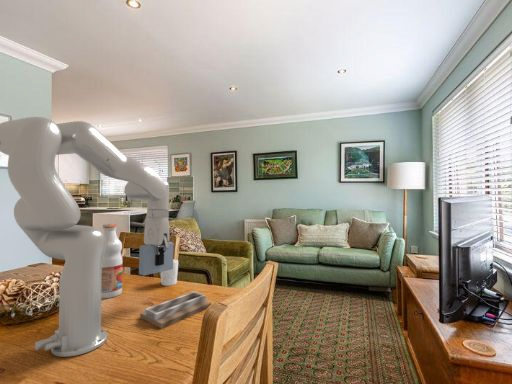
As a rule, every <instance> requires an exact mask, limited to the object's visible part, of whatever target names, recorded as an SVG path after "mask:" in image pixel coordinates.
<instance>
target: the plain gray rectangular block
mask: <svg viewBox="0 0 512 384" xmlns="http://www.w3.org/2000/svg"><path fill="white" fill-rule="evenodd" d="M174 243H175V242H171V241H169V244H168V245H169V248H168V249H167V250H166V251H165V254H164V264H163V265H159V266H156V265H155V255H157V248H156V246H153V245H146V244H144V245H142V244H141V245H139V250H138V251H139V255H138V258H139V260H138V275H141V276H143V277H144V276H148V275H152V274H157V273H160V272H162V271H166V270H171V269H173V259H174ZM161 245H162V244H161ZM159 246H160V245H159ZM160 248H162V247H160Z"/></svg>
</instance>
